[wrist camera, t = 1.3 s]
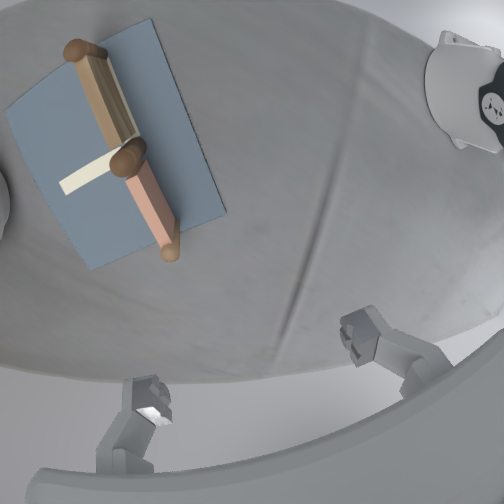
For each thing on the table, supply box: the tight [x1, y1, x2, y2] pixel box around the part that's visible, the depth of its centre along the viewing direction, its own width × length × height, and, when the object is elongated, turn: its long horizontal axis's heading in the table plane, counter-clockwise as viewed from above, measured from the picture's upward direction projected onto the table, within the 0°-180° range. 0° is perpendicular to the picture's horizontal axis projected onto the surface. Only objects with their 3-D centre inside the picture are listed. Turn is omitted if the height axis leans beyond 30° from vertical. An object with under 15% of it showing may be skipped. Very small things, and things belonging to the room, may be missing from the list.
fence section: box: [125, 159, 180, 262], centre depth 26 cm, size 2×9×6 cm, turn 17°
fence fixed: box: [63, 39, 147, 178], centre depth 19 cm, size 2×13×7 cm, turn 17°
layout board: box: [5, 19, 226, 271], centre depth 25 cm, size 19×24×1 cm
